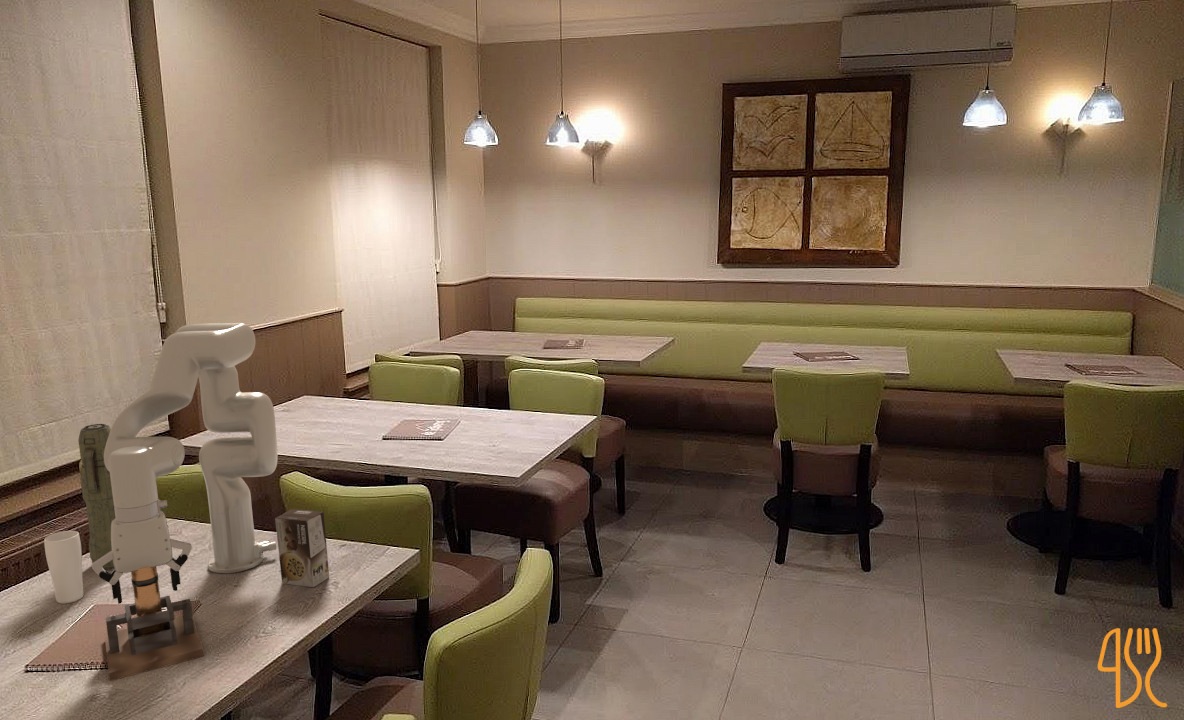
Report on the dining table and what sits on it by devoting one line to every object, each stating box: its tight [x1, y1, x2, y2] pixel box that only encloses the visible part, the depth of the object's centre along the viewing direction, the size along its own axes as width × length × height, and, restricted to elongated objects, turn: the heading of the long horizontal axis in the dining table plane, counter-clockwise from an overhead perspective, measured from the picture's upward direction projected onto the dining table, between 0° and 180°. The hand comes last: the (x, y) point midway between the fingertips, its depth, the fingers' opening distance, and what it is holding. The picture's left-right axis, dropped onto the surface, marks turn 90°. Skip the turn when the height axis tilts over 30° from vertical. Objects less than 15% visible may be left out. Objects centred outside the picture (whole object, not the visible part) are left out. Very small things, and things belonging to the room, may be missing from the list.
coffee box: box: [274, 508, 330, 588], centre depth 198 cm, size 9×6×16 cm
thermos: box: [78, 423, 116, 571], centre depth 209 cm, size 9×12×35 cm
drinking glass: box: [43, 530, 85, 605], centre depth 191 cm, size 7×7×15 cm
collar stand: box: [104, 595, 205, 681], centre depth 168 cm, size 16×18×8 cm
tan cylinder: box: [130, 566, 164, 636], centre depth 167 cm, size 5×5×16 cm
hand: (147, 594), depth 167 cm, fingers open, 9 cm apart
